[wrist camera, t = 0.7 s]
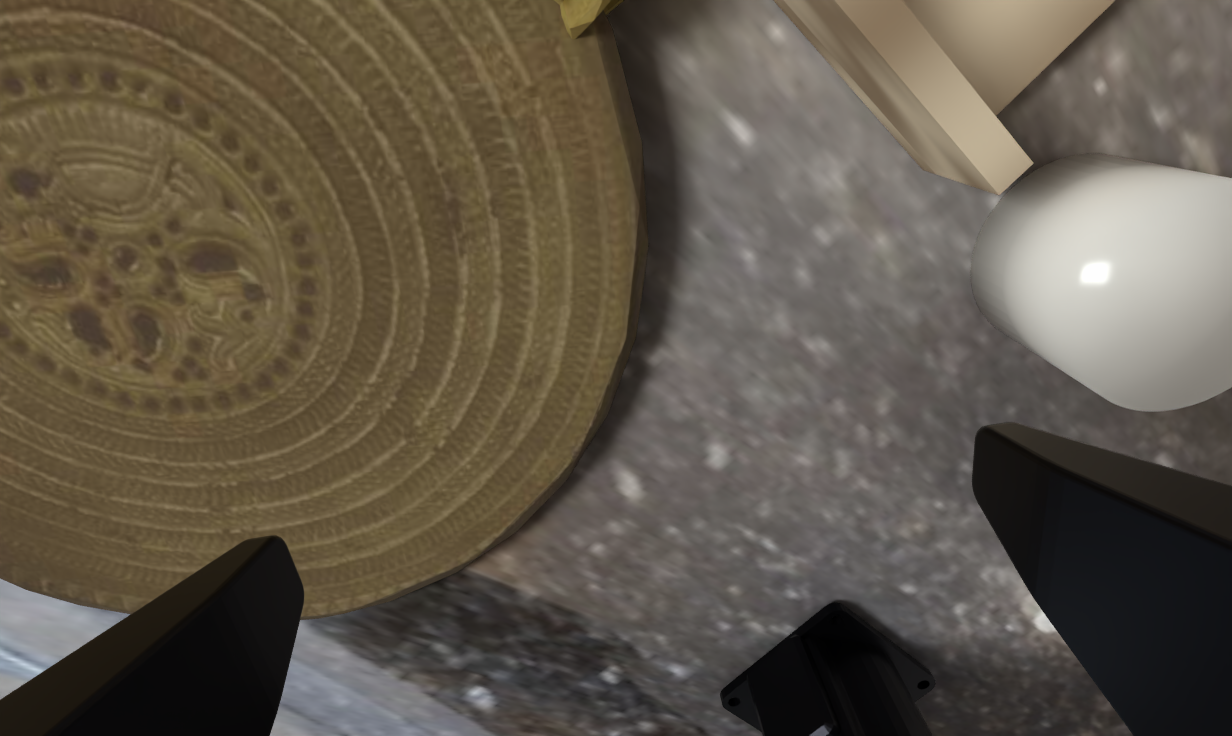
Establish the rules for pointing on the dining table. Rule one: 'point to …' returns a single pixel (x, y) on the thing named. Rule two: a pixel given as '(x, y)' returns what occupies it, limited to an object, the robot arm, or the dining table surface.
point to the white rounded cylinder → (1115, 277)
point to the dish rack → (945, 70)
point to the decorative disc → (304, 283)
